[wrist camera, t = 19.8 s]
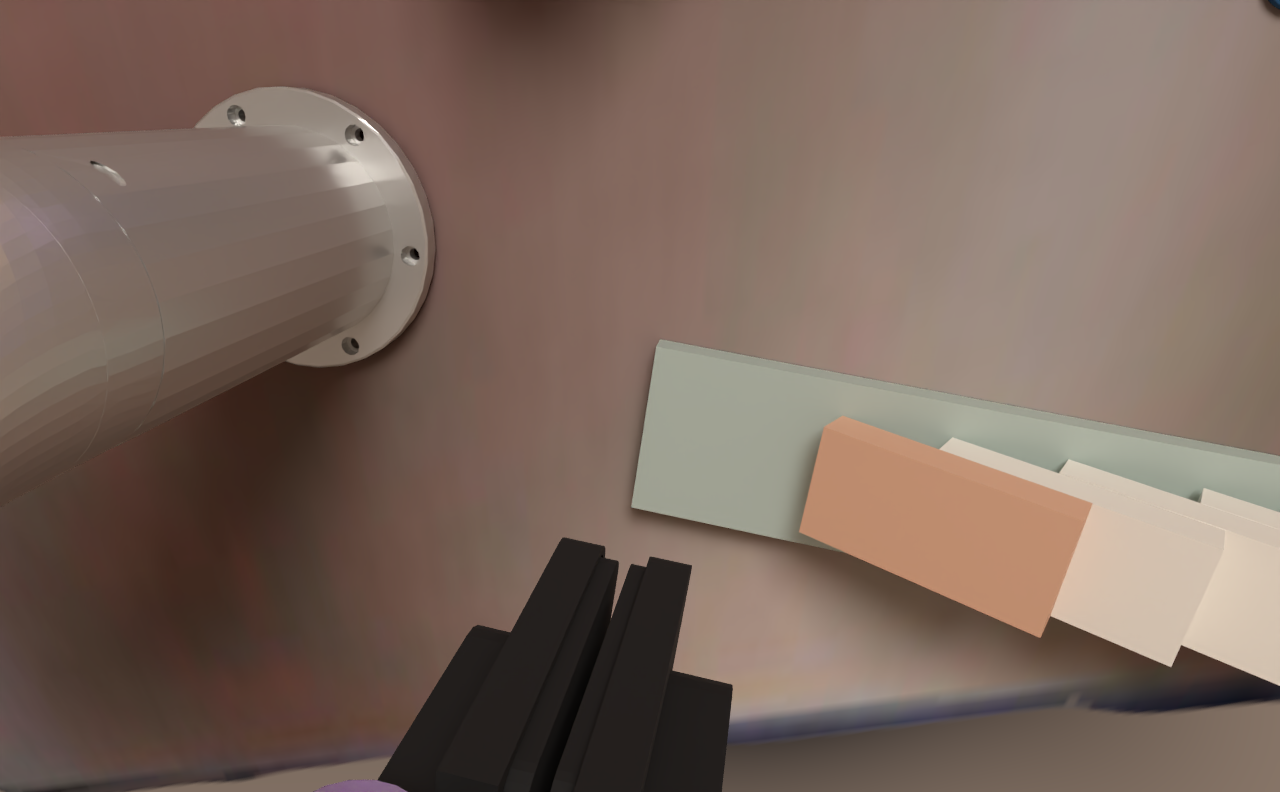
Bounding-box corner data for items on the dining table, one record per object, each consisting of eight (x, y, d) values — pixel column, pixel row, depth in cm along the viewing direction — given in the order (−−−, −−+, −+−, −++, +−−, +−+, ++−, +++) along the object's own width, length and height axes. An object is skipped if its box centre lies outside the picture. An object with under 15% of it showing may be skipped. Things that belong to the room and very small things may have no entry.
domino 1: (798, 532, 36) (1040, 638, 31) (823, 426, 34) (1084, 521, 29) (817, 516, 38) (1050, 615, 33) (842, 415, 36) (1092, 503, 31)
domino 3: (1021, 578, 35) (1309, 698, 30) (1059, 472, 33) (1372, 580, 28) (1031, 561, 37) (1307, 671, 31) (1068, 459, 35) (1366, 558, 30)
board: (635, 496, 40) (631, 507, 39) (660, 339, 37) (656, 346, 36) (1224, 620, 37) (1237, 636, 36) (1300, 460, 34) (1316, 472, 33)
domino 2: (907, 555, 36) (1171, 667, 31) (938, 449, 34) (1224, 550, 29) (922, 538, 37) (1175, 642, 32) (952, 437, 35) (1225, 530, 30)
